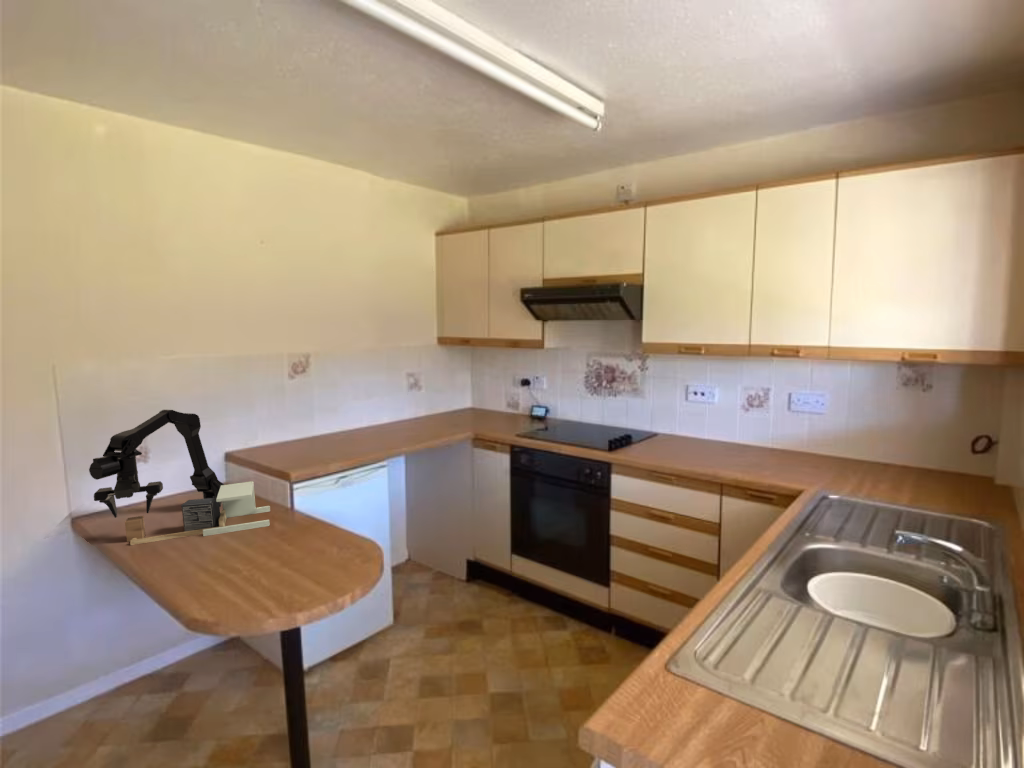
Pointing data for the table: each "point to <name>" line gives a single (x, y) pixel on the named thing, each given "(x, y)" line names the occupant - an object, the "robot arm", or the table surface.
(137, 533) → the wooden block with bar
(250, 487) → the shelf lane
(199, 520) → the small box
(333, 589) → the table surface
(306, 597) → the table surface
